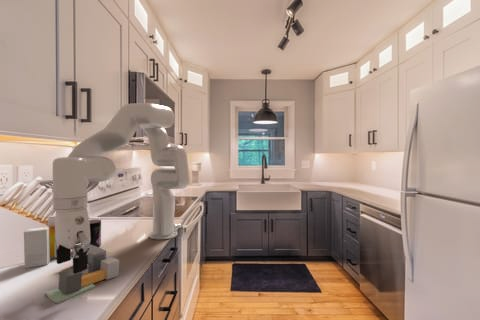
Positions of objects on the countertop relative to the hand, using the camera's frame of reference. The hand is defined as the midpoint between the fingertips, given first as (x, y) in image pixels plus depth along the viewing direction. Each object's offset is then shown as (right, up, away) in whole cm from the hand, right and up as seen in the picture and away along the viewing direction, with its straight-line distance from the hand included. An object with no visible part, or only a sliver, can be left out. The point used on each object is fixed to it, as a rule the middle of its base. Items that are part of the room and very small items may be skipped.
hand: (71, 266), depth 64 cm
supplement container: (-15, -7, +32) cm, 36 cm away
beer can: (-22, -7, +23) cm, 32 cm away
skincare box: (-23, -7, +16) cm, 29 cm away
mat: (0, -7, 0) cm, 7 cm away
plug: (+3, -6, +4) cm, 8 cm away
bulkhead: (-4, -7, +14) cm, 16 cm away
